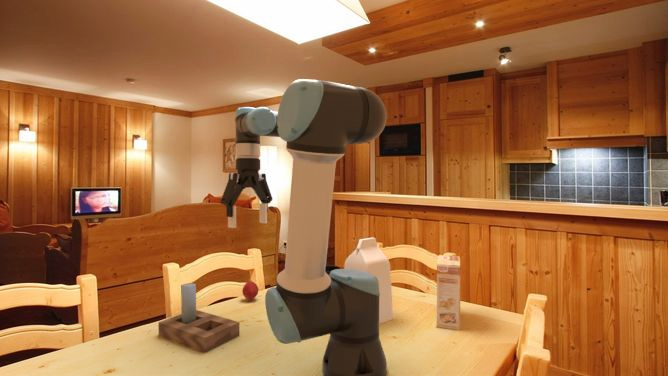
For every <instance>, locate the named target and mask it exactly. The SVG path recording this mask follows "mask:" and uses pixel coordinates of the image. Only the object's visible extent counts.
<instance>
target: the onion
mask: <svg viewBox="0 0 668 376" xmlns="http://www.w3.org/2000/svg"><path fill="white" fill-rule="evenodd" d="M241 291H242V295H243V297H244V298H246V299H247V300H248V301H250V302H251V301H253V300H254V299H255V298H256V297H257V296H258V294H259V287H258V285H257V284H256V282H254V281H253V280H252V279H249V280H248V282H246V283H245V284H244V285H243V288H242V290H241Z"/></svg>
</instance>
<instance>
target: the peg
mask: <svg viewBox="0 0 668 376" xmlns="http://www.w3.org/2000/svg"><path fill="white" fill-rule="evenodd" d="M180 286H181V287H180V291H181V292H180V293H181V298H180V299H181V301H180V302H181V304H180V305H181V308H180V309H181V313H180V314H182V323H184V324H189V323H191V322H194V321H196V310H197V284H196V283H185V284H181V285H180Z"/></svg>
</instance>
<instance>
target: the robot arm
mask: <svg viewBox="0 0 668 376" xmlns="http://www.w3.org/2000/svg"><path fill="white" fill-rule="evenodd" d="M234 117H235V118H234V122H235V156H236V158H235V170H236V171H237V172H229V173H228V180H227V183H226V186H225V189H224V191H223V194H222V196H221V199H220V204H221V205H223V206H224V207H226V208H225V209H226V217H227V228H230V229H236V228H237V206H236V205H235V204H236V202H237V200H238V199H239V197H240V195H241V194H242V192H243V190H244V189H246V188H251V189H252V190H253V191H254V193H255V194H256V197H257V198H258V199H259V201H260V202H261V203H259V204H258V205H259V208H258V210H259V211H258V213H259V215H258V217H259V218H258V220H259V223H260V224H268V212H269V204H271V203H272V202H273V196H272V193H271V191H270V187H269V185H268V183H267V175H266V173H259V171H260V170H261V159H260V157H261V137H273V138H275V137H276V138H280V139H281V140H283V141H284V142H286V148H285V150H286V151H287V152H288V153H289V154H290V156H291V157H292V159H293V160H292V167H291V168H292V170H291V171H292V172H291V185H290V194H289V195H290V196H289V197H290V198H289V210H288V222H287V223H288V224H287V233H286V234H287V235H286V249H285V261H284V262H285V263H284V269H283V270H282V271H280V272H279V273H278V274H277V277H276V285H275V287H274V286H272V287H270V288H268V289H267V290H266V292H265V296H264V300H265V301H264V302H265V303H264V304H265V305H264V306H265V310H266V311H265V312H266V315H267V321H268V324H269V326H270V330H271V331H272V334H273V336H274V338H275V339H276V340H277V341H278V342H279V343H280V344H284V345H286V344H292V343H301V342H303V341H306V340H311V339H316V338H318V337H323V336H327V335H329V338H328V342H327V346H326V348H325V351H324V354H323V358H322V373H323V375H325V376H386V375H387V371H388V370H387V363H388V362H387V358H386V355H385V352H384V348H383V344H382V342H381V339H380V324H379V296H380V293H379V282H378V279H377V278H376V277H375V276H374V275H372V274H370V273H367V272H363V271H358V270H351V269H344V268H341V269H335V270H332V271H331V272H330V275H328V274H327V273H326V272H325V268H326V266H327V258H328V257H327V256H328V255H327V254H328V248H329V247H328V246H329V239H330V237H329V236H330V227H331V216H332V209H333V208H332V207H333V198H334V195H333V194H334V189H335V188H334V187H335V177H336V175H335V174H336V166H337V161H339V160H340V159H341V158H343V157H344V156H345V153H346V145H364V144H367V143H371V142H372V141H374V140H376V139H377V138H378V137H379V136H380V135H381V133H382V132H383V131H384V130H385V127H386V124H387V118H388V117H387V109H386V107H385V104H384V102H383V100H382V99H381V97H379V96H378V94H376V93H375V92H373V91H372V90H370V89H368V88H365V87H361V86H353V85H348V84H347V85H346V84H343V83H342V84H341V83H337V82H332V81H327V80H326V81H325V80H320V79H318V80H317V79H306V78H305V79H304V78H302V79H301V78H299V79H296V80H294V81H292V82H291V83H290V84H289V85H288V86H287V87H286V89H285V91H284V93H283V94H282V96H281V100H280V102H279V105H278V110H271V109H270V108H268V107H266V106H259V107H256V108H255V107H253V106H252V107H250V106H242V107H238V108H236V109H235V116H234Z"/></svg>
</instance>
